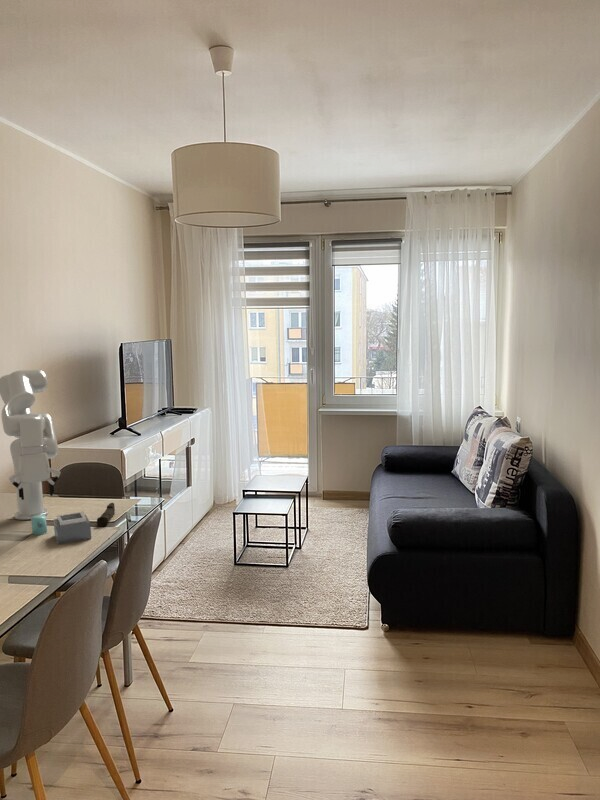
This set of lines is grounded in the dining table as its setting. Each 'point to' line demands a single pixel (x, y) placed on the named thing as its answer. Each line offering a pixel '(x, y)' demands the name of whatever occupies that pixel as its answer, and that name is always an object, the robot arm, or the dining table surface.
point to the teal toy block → (39, 524)
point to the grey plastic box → (72, 528)
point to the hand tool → (106, 515)
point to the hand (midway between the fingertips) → (37, 497)
